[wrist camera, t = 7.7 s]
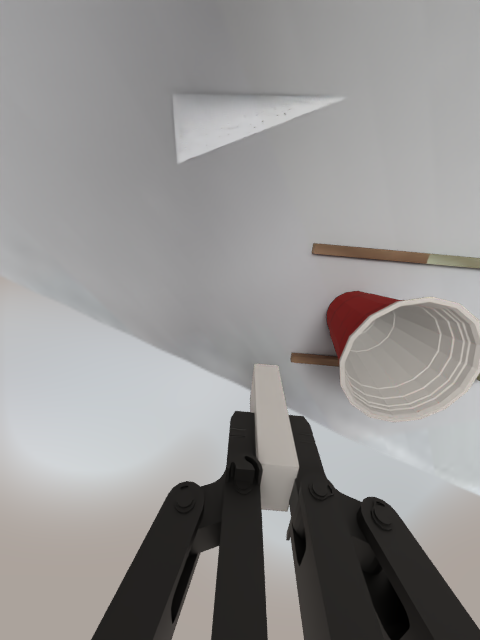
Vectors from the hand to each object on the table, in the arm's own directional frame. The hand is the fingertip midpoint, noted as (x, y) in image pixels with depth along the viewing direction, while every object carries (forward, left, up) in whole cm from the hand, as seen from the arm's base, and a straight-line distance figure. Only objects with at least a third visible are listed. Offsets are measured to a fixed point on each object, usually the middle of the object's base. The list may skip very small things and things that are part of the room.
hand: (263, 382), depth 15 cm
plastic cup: (0, +12, -15) cm, 19 cm away
